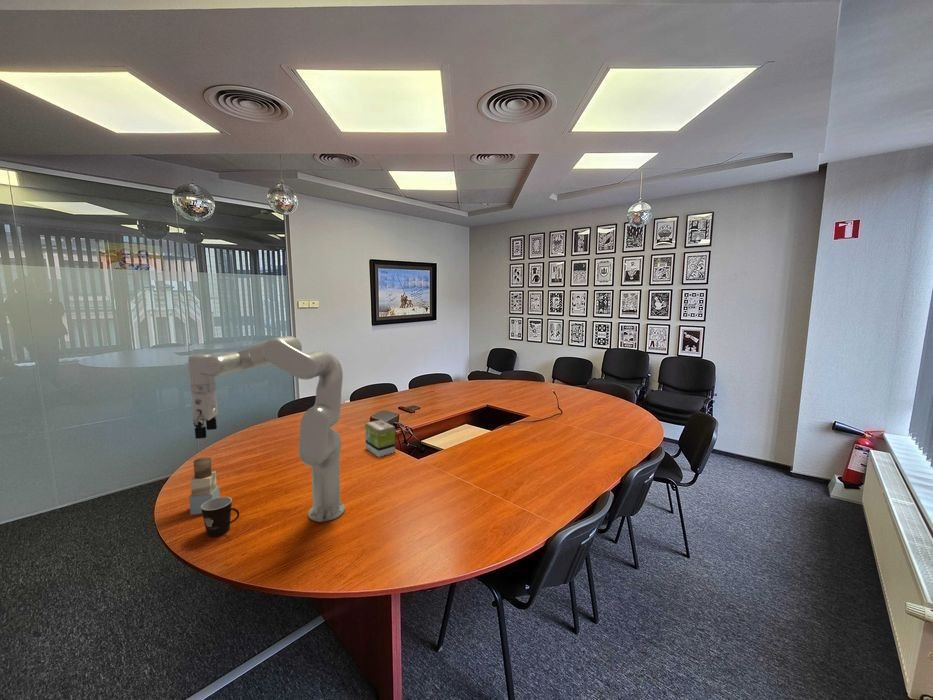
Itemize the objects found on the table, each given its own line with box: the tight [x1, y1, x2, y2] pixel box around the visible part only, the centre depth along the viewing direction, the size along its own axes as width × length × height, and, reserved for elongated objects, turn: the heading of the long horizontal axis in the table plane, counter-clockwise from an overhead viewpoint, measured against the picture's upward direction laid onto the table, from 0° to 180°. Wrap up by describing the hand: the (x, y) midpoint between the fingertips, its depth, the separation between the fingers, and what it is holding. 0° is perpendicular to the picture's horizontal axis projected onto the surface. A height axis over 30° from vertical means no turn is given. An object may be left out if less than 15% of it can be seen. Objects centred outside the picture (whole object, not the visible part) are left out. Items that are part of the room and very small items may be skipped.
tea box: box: [364, 419, 396, 458], centre depth 195 cm, size 15×10×15 cm
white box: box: [189, 485, 221, 516], centre depth 138 cm, size 7×7×7 cm
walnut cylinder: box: [193, 456, 213, 479], centre depth 136 cm, size 5×5×6 cm
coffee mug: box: [201, 496, 240, 538], centre depth 123 cm, size 12×9×10 cm
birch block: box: [190, 470, 218, 496], centre depth 137 cm, size 6×6×6 cm
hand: (206, 433), depth 136 cm, fingers open, 9 cm apart
